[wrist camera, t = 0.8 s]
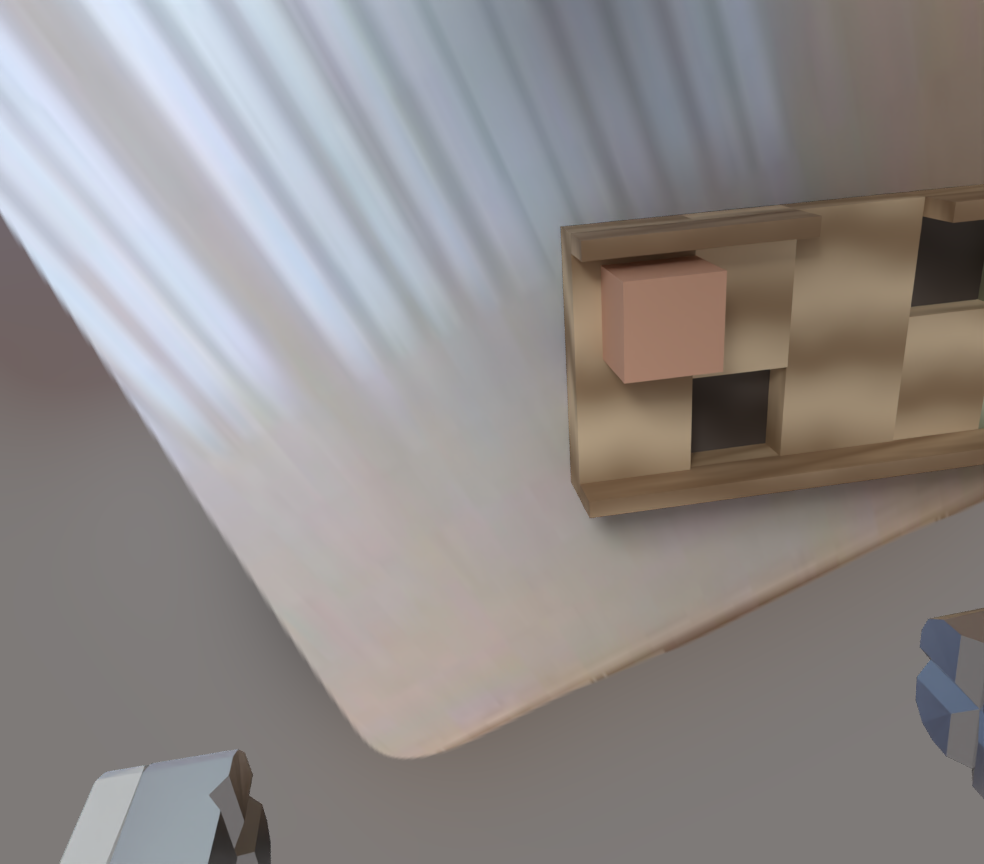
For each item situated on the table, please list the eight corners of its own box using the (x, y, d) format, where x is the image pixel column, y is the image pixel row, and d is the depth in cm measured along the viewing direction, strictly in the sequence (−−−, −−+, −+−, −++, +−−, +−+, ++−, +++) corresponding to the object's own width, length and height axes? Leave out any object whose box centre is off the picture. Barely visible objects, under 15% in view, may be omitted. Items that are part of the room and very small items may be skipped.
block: (600, 265, 41) (623, 281, 37) (695, 255, 41) (727, 270, 37) (602, 359, 43) (624, 383, 39) (693, 348, 43) (723, 371, 39)
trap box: (560, 226, 42) (580, 240, 38) (1085, 174, 45) (1157, 181, 41) (571, 482, 48) (589, 518, 44) (1034, 421, 51) (1092, 449, 47)
